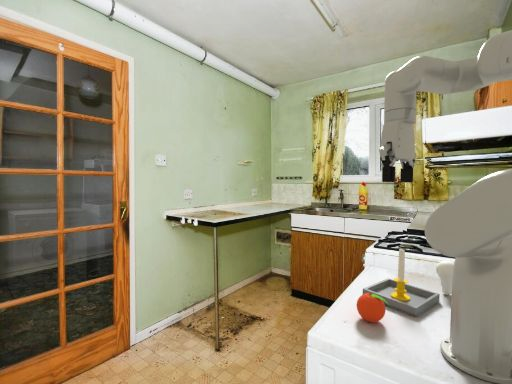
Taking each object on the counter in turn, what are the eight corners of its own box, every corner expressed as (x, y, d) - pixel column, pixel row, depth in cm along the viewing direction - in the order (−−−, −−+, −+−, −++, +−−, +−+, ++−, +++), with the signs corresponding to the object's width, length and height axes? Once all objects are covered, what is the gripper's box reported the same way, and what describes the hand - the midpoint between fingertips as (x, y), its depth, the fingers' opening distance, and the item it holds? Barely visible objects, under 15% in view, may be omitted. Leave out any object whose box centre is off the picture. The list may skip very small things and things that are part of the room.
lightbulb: (450, 291, 87) (451, 258, 87) (463, 299, 81) (464, 264, 81) (431, 290, 88) (432, 257, 87) (442, 298, 82) (443, 263, 81)
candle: (409, 295, 82) (410, 246, 81) (411, 302, 77) (412, 250, 77) (390, 292, 84) (391, 244, 83) (391, 299, 79) (392, 248, 79)
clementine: (391, 319, 69) (392, 293, 68) (387, 332, 63) (388, 303, 63) (359, 311, 73) (359, 286, 73) (353, 322, 67) (354, 295, 67)
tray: (439, 302, 79) (439, 294, 79) (415, 317, 70) (416, 308, 70) (388, 285, 92) (388, 278, 92) (362, 296, 83) (362, 288, 82)
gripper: (401, 125, 79) (399, 182, 79) (368, 116, 69) (366, 182, 69) (428, 120, 72) (427, 182, 73) (397, 110, 63) (395, 182, 63)
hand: (397, 182), depth 71 cm, fingers open, 9 cm apart
